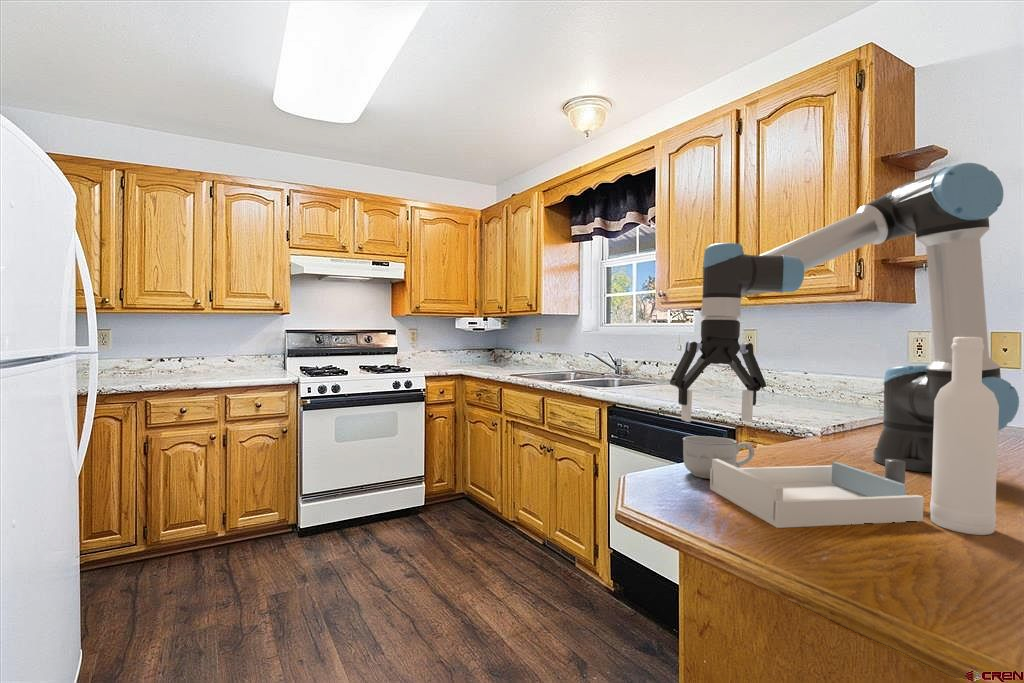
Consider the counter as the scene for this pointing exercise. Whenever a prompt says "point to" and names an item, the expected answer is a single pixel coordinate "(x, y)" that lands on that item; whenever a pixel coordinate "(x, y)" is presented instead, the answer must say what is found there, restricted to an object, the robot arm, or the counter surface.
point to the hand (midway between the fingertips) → (716, 421)
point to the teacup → (711, 453)
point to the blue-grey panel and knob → (872, 479)
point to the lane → (807, 497)
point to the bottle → (965, 445)
